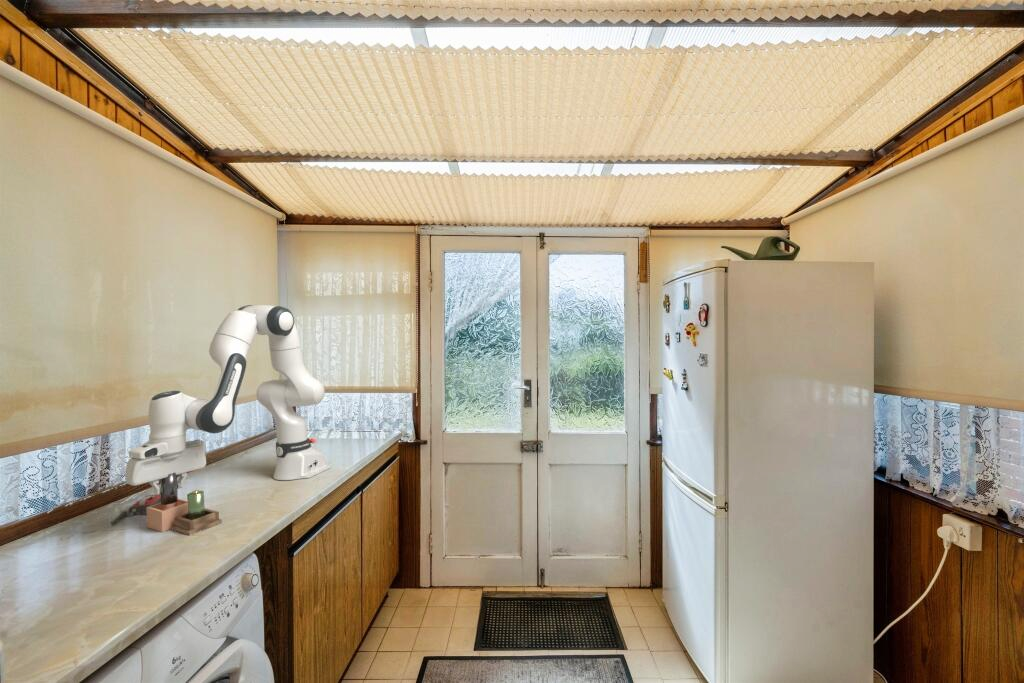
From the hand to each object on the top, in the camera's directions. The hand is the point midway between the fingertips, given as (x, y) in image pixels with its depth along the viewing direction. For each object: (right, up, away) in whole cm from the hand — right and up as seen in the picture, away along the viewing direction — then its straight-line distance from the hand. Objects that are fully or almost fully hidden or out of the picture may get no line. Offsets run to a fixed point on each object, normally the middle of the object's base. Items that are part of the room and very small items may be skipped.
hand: (169, 490), depth 134 cm
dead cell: (0, -3, 0) cm, 3 cm away
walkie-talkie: (-17, -11, +10) cm, 23 cm away
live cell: (+9, -9, -1) cm, 13 cm away
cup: (0, -10, 0) cm, 10 cm away
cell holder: (+9, -10, -1) cm, 14 cm away
